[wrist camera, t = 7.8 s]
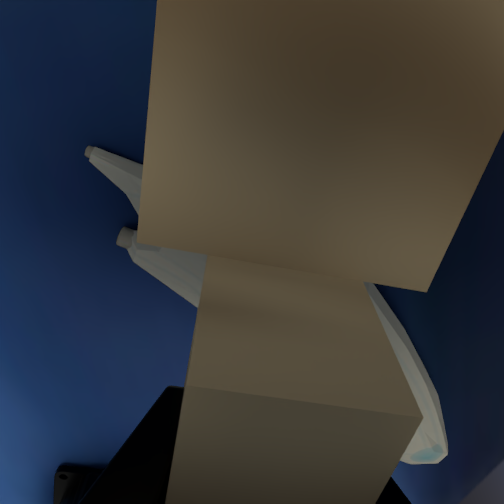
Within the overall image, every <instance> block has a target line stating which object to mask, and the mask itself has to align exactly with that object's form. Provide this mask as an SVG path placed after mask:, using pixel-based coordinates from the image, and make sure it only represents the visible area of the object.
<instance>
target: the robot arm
mask: <svg viewBox="0 0 504 504" xmlns="http://www.w3.org/2000/svg"><path fill="white" fill-rule="evenodd" d="M183 393H184V387H178V386H168V387H167V388H166V389H165V390H164V391H163V393H162V394H161V395H160V397H159V398H158V399H157V401H156V402H155V403H154V404H153V406H152V407H151V408H150V410H149V411H148V412H147V414H146V415H145V416H144V418H143V419H142V420H141V422H140V423H139V424H138V426H137V427H136V428H135V430H134V431H133V432H132V434H131V435H130V436H129V437H128V439H127V440H126V441H125V443H124V444H123V445H122V447H121V448H120V449H119V451H118V452H117V453H116V455H115V456H114V457H113V459H112V460H111V461H110V463H109V464H108V465H107V466H106V468H105V469H104V470H96V469H89V468H82V467H74V466H67V465H62V466H59V467H58V469H57V471H56V473H55V477H54V504H165V498H166V493H167V487H168V481H169V476H170V470H171V465H172V459H173V453H174V447H175V441H176V435H177V429H178V423H179V417H180V411H181V405H182V399H183ZM375 504H411V502H410V501H409V500H408V498H407V497H406V496H405V494H404V493H403V492H402V490H401V489H400V488H399V486H398V485H397V484H396V483H395V481H394V480H393V479H392V477H390V478H389V480H388V482H387V484H386V485H385V487H384V489H383V491H382V493H381V494H380V496H379V498H378V500H377V501H376V503H375Z"/></svg>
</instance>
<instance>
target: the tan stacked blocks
mask: <svg viewBox="0 0 504 504" xmlns="http://www.w3.org/2000/svg"><path fill="white" fill-rule="evenodd" d="M503 130H504V0H157V10H156V21H155V33H154V45H153V56H152V68H151V80H150V91H149V103H148V115H147V126H146V138H145V150H144V161H143V173H142V185H141V196H140V208H139V220H138V231H137V243H141V244H147V245H153V246H158V247H164V248H170V249H176V250H182V251H188V252H194V253H199V254H205V255H207V260H206V266H205V271H204V277H203V283H202V288H201V294H200V300H199V305H198V311H197V317H196V322H195V328H194V334H193V339H192V345H191V351H190V356H189V362H188V368H187V373H186V379H185V385H184V393H183V399H182V405H181V411H180V417H179V423H178V429H177V435H176V441H175V447H174V453H173V459H172V465H171V470H170V476H169V481H168V487H167V493H166V498H165V504H375V503H376V501H377V500H378V498H379V496H380V494H381V493H382V491H383V489H384V487H385V485H386V484H387V482H388V480H389V478H390V477H391V475H392V473H393V471H394V470H395V468H396V466H397V464H398V462H399V461H400V459H401V457H402V455H403V454H404V452H405V450H406V448H407V447H408V445H409V443H410V441H411V440H412V438H413V436H414V434H415V432H416V431H417V429H418V427H419V425H420V424H421V422H422V420H423V418H424V417H423V415H422V413H421V411H420V408H419V406H418V404H417V402H416V399H415V397H414V395H413V393H412V390H411V388H410V386H409V384H408V381H407V379H406V377H405V375H404V372H403V370H402V368H401V366H400V364H399V361H398V359H397V357H396V355H395V352H394V350H393V348H392V346H391V343H390V341H389V339H388V337H387V334H386V332H385V330H384V328H383V325H382V323H381V321H380V319H379V316H378V314H377V312H376V310H375V307H374V305H373V303H372V301H371V299H370V296H369V294H368V292H367V290H366V287H365V285H364V283H363V282H369V283H375V284H381V285H387V286H393V287H398V288H404V289H410V290H416V291H422V292H427V290H428V288H429V286H430V284H431V282H432V280H433V277H434V275H435V273H436V271H437V269H438V267H439V265H440V263H441V261H442V258H443V256H444V254H445V252H446V250H447V248H448V246H449V244H450V242H451V240H452V237H453V235H454V233H455V231H456V229H457V227H458V225H459V223H460V221H461V219H462V216H463V214H464V212H465V210H466V208H467V206H468V204H469V202H470V200H471V197H472V195H473V193H474V191H475V189H476V187H477V185H478V183H479V181H480V179H481V176H482V174H483V172H484V170H485V168H486V166H487V164H488V162H489V160H490V158H491V155H492V153H493V151H494V149H495V147H496V145H497V143H498V141H499V139H500V136H501V134H502V132H503Z"/></svg>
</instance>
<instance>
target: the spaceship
mask: <svg viewBox="0 0 504 504" xmlns="http://www.w3.org/2000/svg"><path fill="white" fill-rule="evenodd" d="M85 156H86V157H88V158H90V159H89V162H91V163H92V164H93V165H94V166H95V167H96V168H97V169H98V170H100V171H101V172H102V173H103V174H104V175H105V176H106V177H107V178H109V179H110V180H111V181H112V182H113V183H114V184H115V185H116V186H118V187H119V188H120V189H121V190H122V191H123V192H124V193H125V194H126V195H127V197H128V198H129V200H130V202H131V203H132V205H133V207H134V208H135V210H136V212H137V213H138V215H139V208H140V196H141V185H142V173H143V165H142V164H139V163H136V162H134V161H131V160H128V159H126V158H123V157H120V156H118V155H115V154H113V153H110V152H107V151H104V150H102V149H100V148H97V147H92V146H90V145H89V146H88V147H87V148H86V150H85ZM137 231H138V230H132V229H130V228H127V227H125V226H124V227H123V228H122V229H121V231H120V233H119V235H118V238H117V241H116V244H117V245H118V246H121V247H124V248H126V249H127V250H128V252H129V254H130V256H131V258H132V260H133V262H134V263H136V264H137V265H139V266H140V267H141V268H143V269H144V270H146V271H147V272H148V273H150V274H151V275H153V276H154V277H155V278H157V279H158V280H160V281H161V282H162V283H164V284H165V285H166V286H168V287H169V288H171V289H172V290H173V291H175V292H176V293H178V294H179V295H180V296H182V297H183V298H185V299H186V300H187V301H189V302H190V303H192V304H193V305H194V306H196V307H197V308H198V305H199V300H200V294H201V288H202V283H203V277H204V271H205V266H206V260H207V255H205V254H199V253H194V252H188V251H182V250H176V249H170V248H164V247H158V246H153V245H147V244H141V243H137ZM363 283H364V285H365V287H366V290H367V292H368V294H369V296H370V299H371V301H372V303H373V305H374V307H375V310H376V312H377V314H378V316H379V319H380V321H381V323H382V325H383V328H384V330H385V332H386V334H387V337H388V339H389V341H390V343H391V346H392V348H393V350H394V352H395V355H396V357H397V359H398V361H399V364H400V366H401V368H402V370H403V372H404V375H405V377H406V379H407V381H408V384H409V386H410V388H411V390H412V393H413V395H414V397H415V399H416V402H417V404H418V406H419V408H420V411H421V413H422V415H423V417H424V418H423V420H422V422H421V424H420V425H419V427H418V429H417V431H416V432H415V434H414V436H413V438H412V440H411V441H410V443H409V445H408V447H407V448H406V450H405V452H404V454H403V455H402V457H401V459H400V461H403V462H406V463H409V464H430V463H439V462H440V461H441V460H442V459H443V458H444V457H445V456H446V455H448V443H447V437H446V432H445V426H444V421H443V417H442V412H441V407H440V402H439V397H438V394H437V392H436V390H435V388H434V386H433V384H432V381H431V379H430V377H429V375H428V373H427V371H426V369H425V367H424V365H423V363H422V361H421V359H420V358H419V356H418V354H417V352H416V350H415V348H414V346H413V344H412V342H411V340H410V338H409V337H408V335H407V333H406V331H405V329H404V328H403V326H402V325H401V323H400V322H399V320H398V319H397V317H396V316H395V314H394V313H393V311H392V310H391V309H390V307H389V306H388V304H387V303H386V301H385V300H384V298H383V297H382V295H381V294H380V292H379V291H378V290H377V288H376V287H375V285H374V284H373V283H369V282H363Z"/></svg>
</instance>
